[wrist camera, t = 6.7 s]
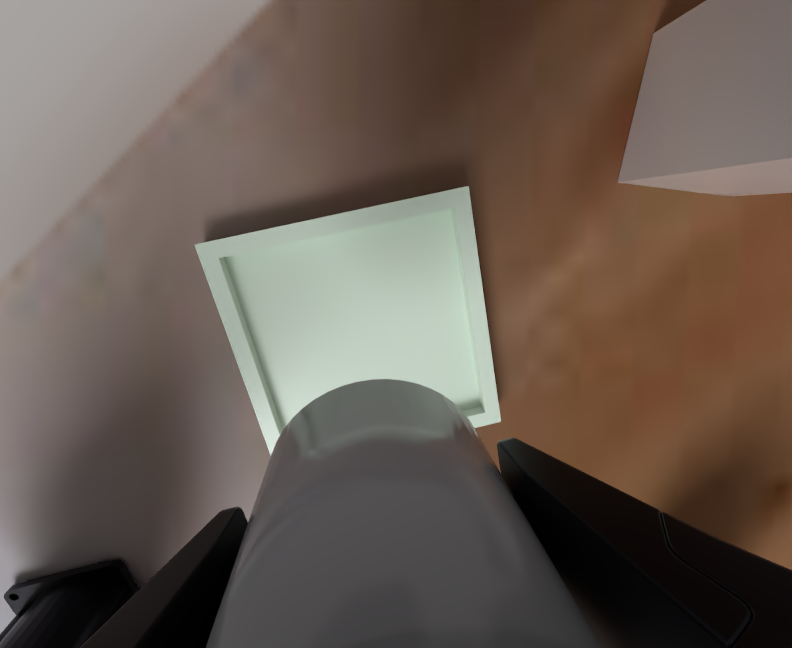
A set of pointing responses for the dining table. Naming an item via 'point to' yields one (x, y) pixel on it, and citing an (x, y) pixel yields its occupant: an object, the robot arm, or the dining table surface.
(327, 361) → the tray
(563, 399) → the dining table surface
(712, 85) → the soap dispenser
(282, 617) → the pot
